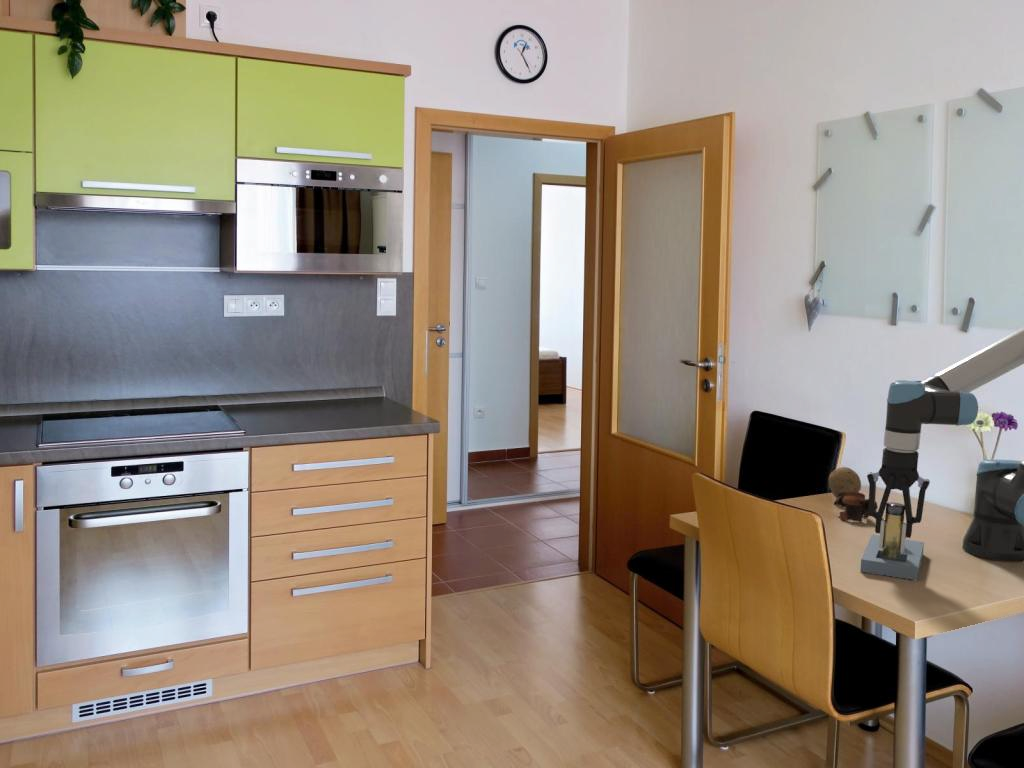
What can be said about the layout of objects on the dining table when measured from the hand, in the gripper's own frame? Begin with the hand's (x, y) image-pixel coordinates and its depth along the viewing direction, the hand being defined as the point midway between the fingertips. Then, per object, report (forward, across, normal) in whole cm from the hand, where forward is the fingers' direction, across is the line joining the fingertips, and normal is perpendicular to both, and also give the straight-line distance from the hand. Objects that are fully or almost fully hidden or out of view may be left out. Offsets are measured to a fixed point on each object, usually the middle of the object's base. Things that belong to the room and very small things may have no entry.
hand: (891, 548), depth 228 cm
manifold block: (+5, 0, -5) cm, 7 cm away
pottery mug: (+5, +13, -42) cm, 44 cm away
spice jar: (+2, 0, 0) cm, 2 cm away
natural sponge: (+5, +18, -59) cm, 62 cm away
